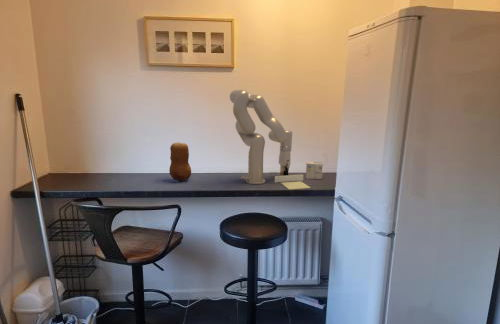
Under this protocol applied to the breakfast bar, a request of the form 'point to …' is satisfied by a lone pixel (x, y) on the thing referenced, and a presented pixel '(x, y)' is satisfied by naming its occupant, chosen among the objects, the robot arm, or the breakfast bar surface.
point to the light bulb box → (314, 170)
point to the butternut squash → (179, 162)
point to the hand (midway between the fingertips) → (284, 174)
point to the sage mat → (295, 185)
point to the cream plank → (288, 178)
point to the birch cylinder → (282, 170)
